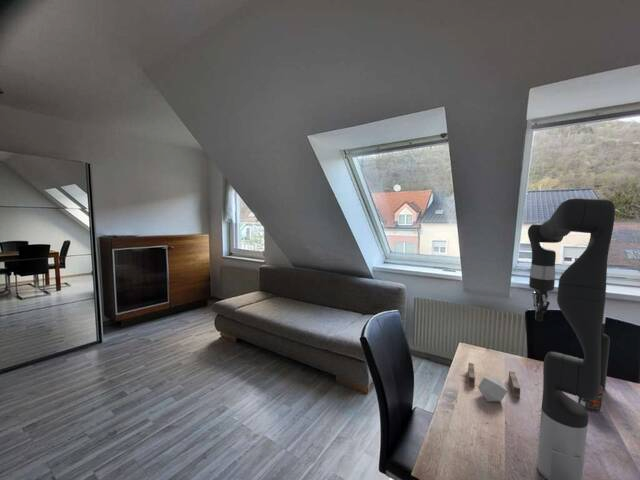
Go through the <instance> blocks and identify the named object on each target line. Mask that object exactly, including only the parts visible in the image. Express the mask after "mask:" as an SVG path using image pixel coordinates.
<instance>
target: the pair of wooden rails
mask: <svg viewBox="0 0 640 480" xmlns="http://www.w3.org/2000/svg"><path fill="white" fill-rule="evenodd" d="M475 374H476V373H475V365H474V363H472V362H471V363H470V362H468V367H467V378H468V387H469V388H474V389H475V386H476V385H475V384H476V376H475ZM508 383H509V388H510V391H511V393H512V396H513V398H516V399H520V398H521V386H520V384H519V383H520V382H519V380H518V377H517V375H516V372H515V371H510V370H509V371H508Z"/></svg>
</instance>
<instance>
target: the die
mask: <svg viewBox="0 0 640 480" xmlns="http://www.w3.org/2000/svg"><path fill="white" fill-rule="evenodd" d="M477 389H478V390H479V392H480V393H481V395H482V396H483V398H484V399H485V401H486V402H495V403H496V402H500V403H501V402H502V401H503V399H504V398H505V396H506V395H507V394H508V390H507V388H506V387H505V386H504V384H503V383H502V382H501V380H500V379H499V378H498V377H489V376H488V377H485V376H484V377H483V378H482V380H481V381H480V383H479V385H478V387H477Z"/></svg>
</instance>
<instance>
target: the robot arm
mask: <svg viewBox="0 0 640 480" xmlns="http://www.w3.org/2000/svg"><path fill="white" fill-rule="evenodd" d="M615 220H616V207H615V204H614V202H613V201H611V200H610V199H605V198H604V199H603V198H601V199H600V198H586V197H585V198H584V197H572V198H568V199H567V198H566V199H565V200H563V201H562V202H560V204H559V205H558V206H557V208H556V209H555V211H554V212H553V213H552V215H551V217H550V218H549V219H547V220H545V221H544V222H543V223H533V224H531V225H530V226H529V227H528V229H527V236H528V239H529V243H530V247H531V263H530V264H531V266H530V269H529V282H528V283H529V284H528V286H529V288H530V289H533V290H534V291H532V293H531V294H532V301H533V307H534V310H535V311H534V312H535V315H534V319H535V320H536V321H537V322H543V321H544V315H545V314H544V313H546V312H547V311H548V308H549V306H550V303H551V302H550V301H549V294H548V292H552V291H554V290H555V281H556V258H557V254H556V251H555V250H553V249H550V248H545V247H543V246H541V243H545V244H547V243H549V244H556V243H557V244H558V243H560V242H562V241H563V239H564V237H566V236H568V235H569V234H570V233H572V232H574V233H584V234H590V236H589V242H588V244H587V246H586V248H585V250H584V251H582V254H581V255H580V256H579V257H578V258H577V259H576V260H574V262H572V263H571V264H570V265H569V266H568V267H567V268H566V269H565V270H564V271H563V272H562V274H561V275H560V277H559V279H558V287H557V295H556V297H557V298H556V301H557V305H558V308H559V310H560V312H561V313H562V315H563V316H564V318H565V320H566V321H567V322H568V323H569V324H568V325H569V326H570V327H571V329H572V330H573V332H574V333H575V335H576V337H577V339H578V341H579V344H580V345H581V349H582V352H583V358H579V357H577V356H573V355H569V354H564V353H561V352H557V351H549V352H547V353H546V355H545V357H544V359H543V365H542V366H543V371H542V372H543V373H542V374H543V375H542V376H543V378H542V379H543V380H542V382H543V383H542V386H543V387H542V399H541V408H540V409H541V410H540V421H539V422H540V423H539V432H538V433H539V435H538V444H537V445H538V446H537V459H536V467H537V470H538V472H539V473H540V475H541V476H542V477H543V478H544V479H545V480H546V479H547V480H583V479H584V477H583V476H584V466H585V457H586V456H585V455H586V445H587V436H588V435H587V434H588V425H589V414H588V410H586V409H584V407H582V406H581V405H580V404H579V403H578V401H576V400H574V399H572V398H571V397H570V396H568V395H567V394H570V395H572V396H575V397H578V398H579V397H581V398H584V399H588V400H595V399H596V398H597V397H598V395H599V391H600V382H601V332H602V323H603V315H605V314H604V313H605V307H606V306H605V305H606V295H607V274H608V271H607V270H608V261H609V260H608V259H609V251H610V248H611V240H612V235H613V231H614V224H615ZM566 393H567V394H566Z"/></svg>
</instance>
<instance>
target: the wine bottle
mask: <svg viewBox="0 0 640 480" xmlns="http://www.w3.org/2000/svg"><path fill="white" fill-rule="evenodd" d="M606 317H607V315H606V314H604V315H603V323H602V332H601V382H600V385H601V386H602V387H603V390H604V391H605V390H606V383H607V373H608V372H607V371H608V366H609V365H608V363H609V354H610V344H611V338H610V336H609V335H608V334H606V333H605V324H606Z"/></svg>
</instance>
